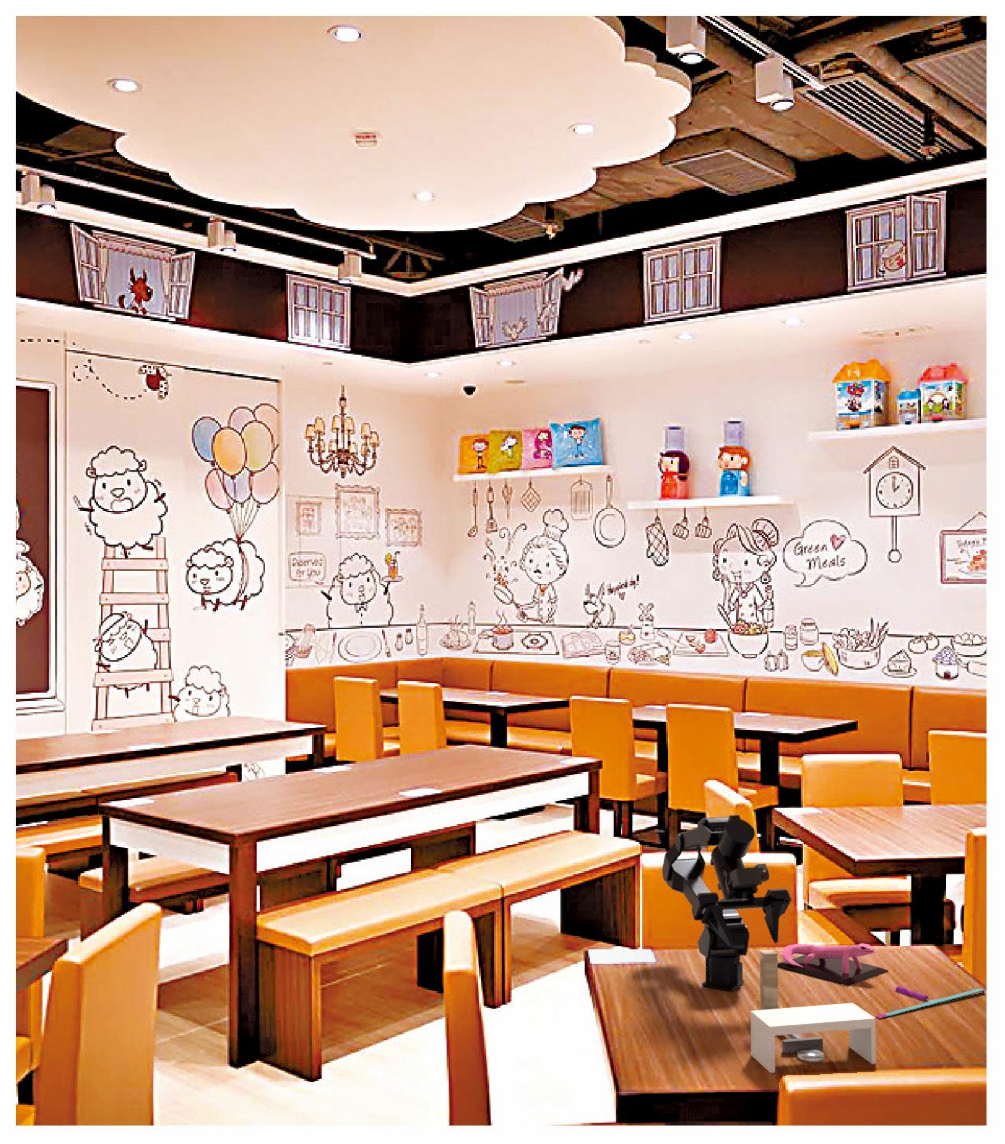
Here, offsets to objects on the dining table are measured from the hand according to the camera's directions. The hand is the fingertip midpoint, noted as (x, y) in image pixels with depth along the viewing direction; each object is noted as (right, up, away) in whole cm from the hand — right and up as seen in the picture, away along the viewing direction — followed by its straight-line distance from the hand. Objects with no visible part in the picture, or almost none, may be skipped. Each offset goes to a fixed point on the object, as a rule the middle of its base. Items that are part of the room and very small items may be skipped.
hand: (753, 943), depth 229 cm
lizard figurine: (+22, -14, +25) cm, 36 cm away
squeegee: (+32, -14, +6) cm, 36 cm away
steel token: (+5, -12, -24) cm, 27 cm away
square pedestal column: (+3, -12, -13) cm, 18 cm away
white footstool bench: (+5, -12, -25) cm, 28 cm away
